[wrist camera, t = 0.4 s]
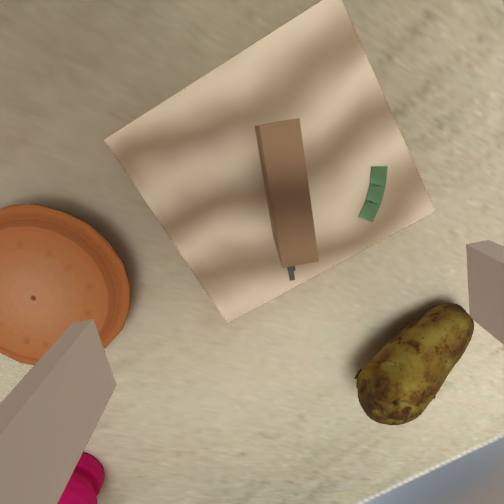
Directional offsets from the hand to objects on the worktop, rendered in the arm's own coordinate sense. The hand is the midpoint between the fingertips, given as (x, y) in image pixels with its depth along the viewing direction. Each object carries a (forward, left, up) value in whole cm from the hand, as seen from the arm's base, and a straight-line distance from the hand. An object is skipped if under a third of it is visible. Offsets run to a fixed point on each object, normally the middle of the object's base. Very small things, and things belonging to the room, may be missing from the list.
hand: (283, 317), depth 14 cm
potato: (+21, +5, -24) cm, 33 cm away
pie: (-3, -21, -25) cm, 32 cm away
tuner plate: (-1, +2, -24) cm, 24 cm away
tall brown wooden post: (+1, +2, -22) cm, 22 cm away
